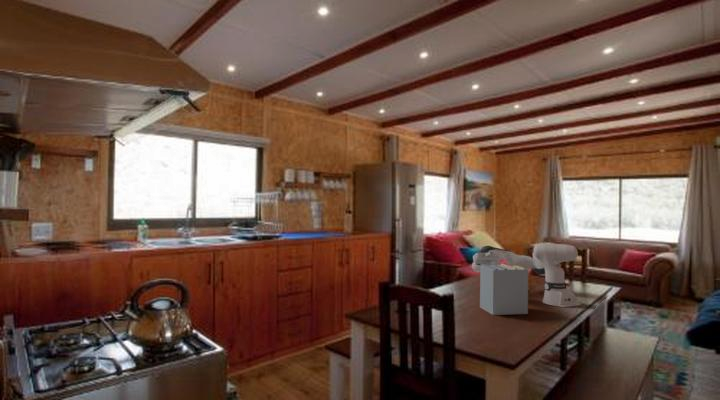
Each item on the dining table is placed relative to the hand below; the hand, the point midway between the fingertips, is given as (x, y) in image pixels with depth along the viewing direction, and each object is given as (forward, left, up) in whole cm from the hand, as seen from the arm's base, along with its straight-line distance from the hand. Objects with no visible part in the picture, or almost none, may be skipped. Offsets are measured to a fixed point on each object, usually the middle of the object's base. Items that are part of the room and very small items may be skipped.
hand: (493, 252), depth 250 cm
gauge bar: (0, +7, -2) cm, 7 cm away
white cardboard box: (+6, +23, -32) cm, 40 cm away
